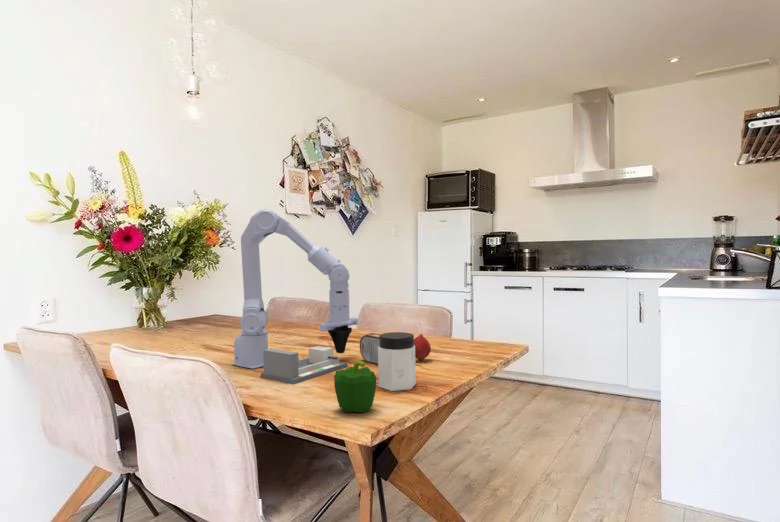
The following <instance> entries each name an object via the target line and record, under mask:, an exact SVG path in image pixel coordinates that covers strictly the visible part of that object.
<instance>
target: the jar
mask: <svg viewBox="0 0 780 522" xmlns="http://www.w3.org/2000/svg"><path fill="white" fill-rule="evenodd" d="M414 339H415V335H414V334H413V333H410V332H403V331H402V332H401V331H399V332H398V331H395V332H394V331H393V332H384V333H381V335H380V336H379V346H380V347H378V365H377V367H378V368H377V370H378V371H377V372H378V376H377V377H378V379H377V380H378V388H381V389H383V390H387V391H390V392H398V391H407V390H408V391H409V390H410V391H411V389H413V387H414V386H416V383H417V382H416V381H417V378H416V377H417V376H416V375H417V374H416V372H417V371H416V358H415V345H414Z"/></svg>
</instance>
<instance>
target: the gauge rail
mask: <svg viewBox="0 0 780 522" xmlns="http://www.w3.org/2000/svg"><path fill="white" fill-rule="evenodd" d="M263 354H264V366H263V372H261V373H260V378H264V379H267V380H272V381H277V382H281V383H282V382H283V383H287V384H292V385H295V384H298V383H301V382H305V381H307V380H311V379H313V378H317V377H320V376H323V375H326V374H330V373H332V372H336V371H339V370H343V369H344V368H345V369H346V367H347V368H348V362H343V361H340V357H338V356H337V358H338V359H329V360H326V361H322V362H319V363H315V364H313V363H309V356H306V357H304V358H303V357H302V358H300V359H299V352H295V351H290V350H284V349H278V348H277V349H276V348H268V349H266V350H263Z"/></svg>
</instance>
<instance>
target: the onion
mask: <svg viewBox="0 0 780 522" xmlns="http://www.w3.org/2000/svg"><path fill="white" fill-rule="evenodd" d="M414 345H415V360H416V359H417V360H418V361H420V362H423V361H424V360H425V359H426V358H427V357H428V356H429V355H430V353H431V350H432V349H431V347H432V346H431V344H430V342H429V340H428V339H427V338H425V337H424V335H423V333H419V334H418V336H417V337H414Z"/></svg>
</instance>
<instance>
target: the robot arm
mask: <svg viewBox="0 0 780 522" xmlns="http://www.w3.org/2000/svg"><path fill="white" fill-rule="evenodd" d="M274 233H276V234H278V235H281V236H285V237H287V238H288V239H289V240H291V241H292V242H293V243H294V244H296V246H297V247H299V248H300V249H301V250H303V251H304V252H305V253H306V254H307V261H308V262H309V263H311V265H312V266H314V268H316V269H317V270H318V271H320V273H322V275H325V276H326V275H327V278H328V280H329V282H330V283H329V288H330V289H329V290H328V292H329V321H327V322H324V323H321V324H320V325H319V332H328V334H329V336H330V337H331V340H332V342H333V345H334V350H335V353H337V354H344V353H345V352H346V347H347V346H346V345H347V343H348V340H349V337H350V335H351V333H352V331H353V328H352V327H351V326H358V325H359V318H357V317H351V318H350V289H349V288H350V286H349V285H350V284H349V279H350V272H349V270H348V268H347V267H346V266H345V265H344V264H342V263H341V262H342V260H340V259H337V258H336V257H335V256H334V255H332V254H331V253H330V252H329V251H330V250H329V249H328V248H327V247H324V246H322V245H314V244H313V243H312V242H311V241H310V240H309V239H308V238H307V237H306V236H305V235H304V234H303V233H302V232H300V231H299V229H297V228H296V227H295V226H294V225H293V224H292V223H291V222H289V221H288V220H286V219H285V218H283V217H281V216H280V215H278V214H277V213H276V212H275V211H273V210H271V209H269V208H268V209H267V208H263V209H260V210H258V211H257V212H256V213H254V214H253V215H252V216H251V217H250V220H249V222H248V224H247V225H246V227H245V229H244V230H243V233H242V234H241V237H240V248H241V250H240V252H241V266H242V267H241V268H242V286H243V296H244V298H243V299H244V301H243V305H242V316H241V318H240V321H239V325H240V328H241V332H240V333H238V334H237V335H236V336H235V339H234V342H233V348H234V350H233V352H234V353H233V356H234V359H233V360H234V362H232V363H231V365H232V366H237V367H242V368H248V369H253V370H254V369H259V368H261V367H264V354H263V350H266V349H269V334H268V333H269V331H268V330H267V328H266V325H267V324H268V320H269V316H268V314H267V312H266V310H265V306H264V305H265V304H264V300H263V293H262V291H263V290H262V275H261V273H262V272H261V259H260V258H261V257H260V256H261V255H260V244H261V243H262V242H263V241H264V240H265V239H266V238H267V237H268V236H270V235H273V234H274Z"/></svg>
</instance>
